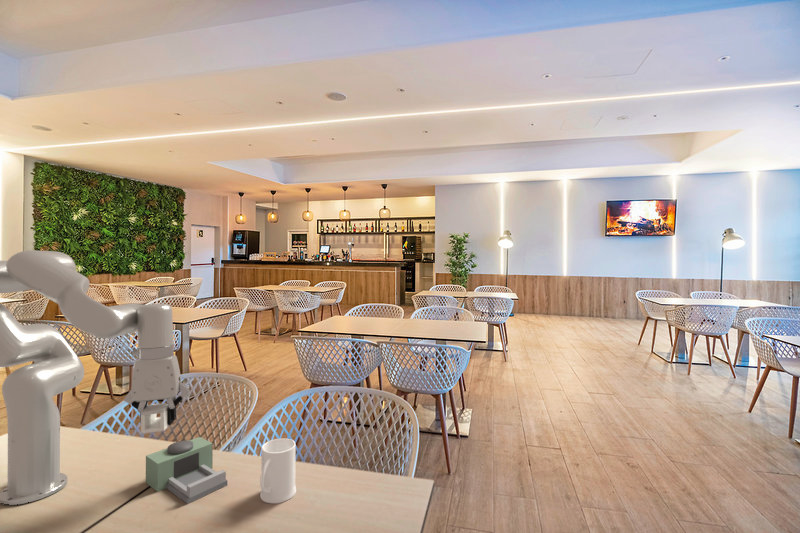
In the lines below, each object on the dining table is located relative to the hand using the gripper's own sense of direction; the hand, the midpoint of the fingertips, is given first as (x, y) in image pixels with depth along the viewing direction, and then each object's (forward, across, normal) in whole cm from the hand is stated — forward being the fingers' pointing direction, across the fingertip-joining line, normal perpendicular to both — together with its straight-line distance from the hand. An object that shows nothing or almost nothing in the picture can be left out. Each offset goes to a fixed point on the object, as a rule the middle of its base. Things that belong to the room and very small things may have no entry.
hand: (158, 423), depth 99 cm
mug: (+18, +28, -11) cm, 35 cm away
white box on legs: (+1, 0, 0) cm, 1 cm away
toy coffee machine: (+17, +6, +1) cm, 18 cm away
